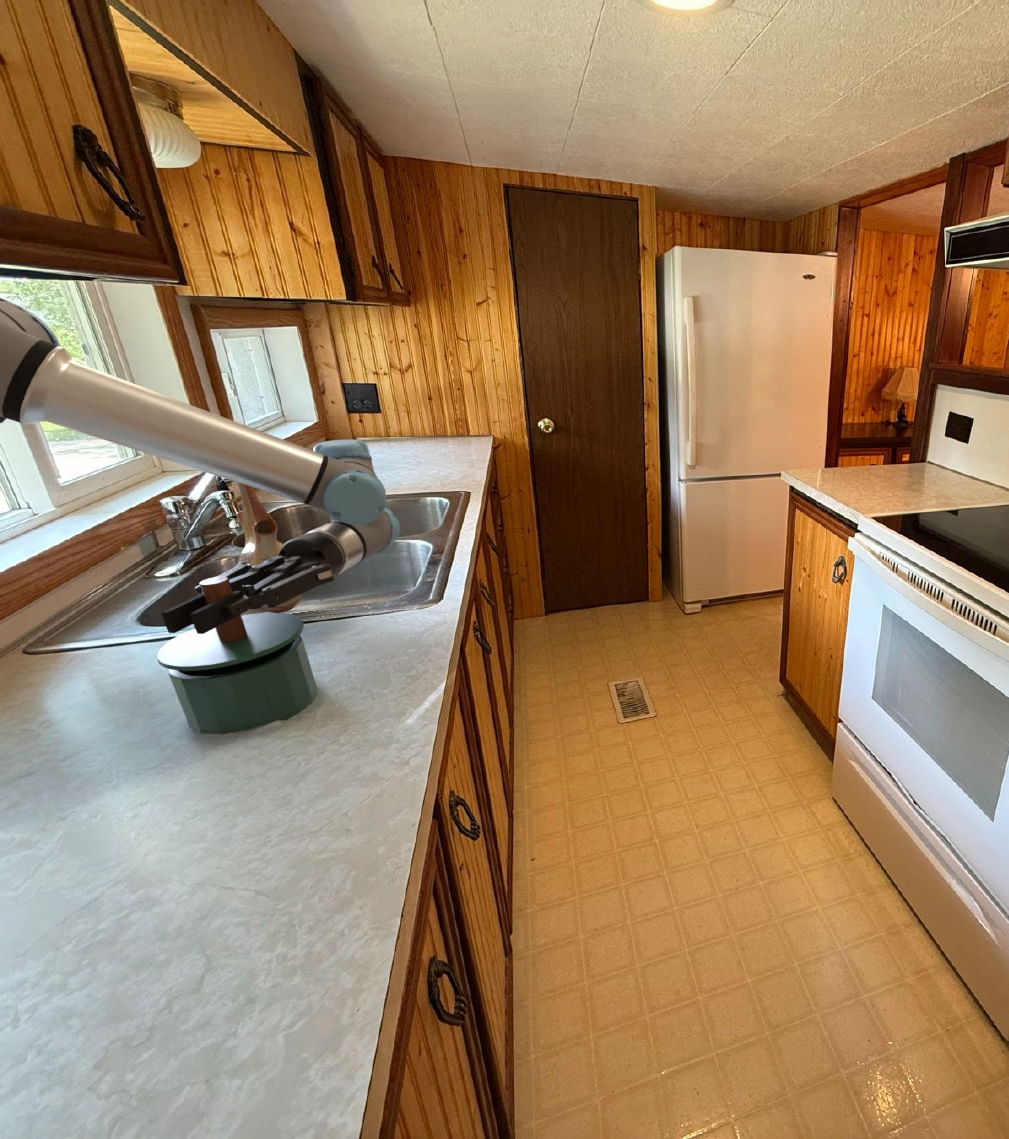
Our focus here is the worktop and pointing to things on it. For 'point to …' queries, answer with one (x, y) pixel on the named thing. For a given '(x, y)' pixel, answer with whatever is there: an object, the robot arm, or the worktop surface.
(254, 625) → the lid
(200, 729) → the pot
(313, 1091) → the worktop surface
